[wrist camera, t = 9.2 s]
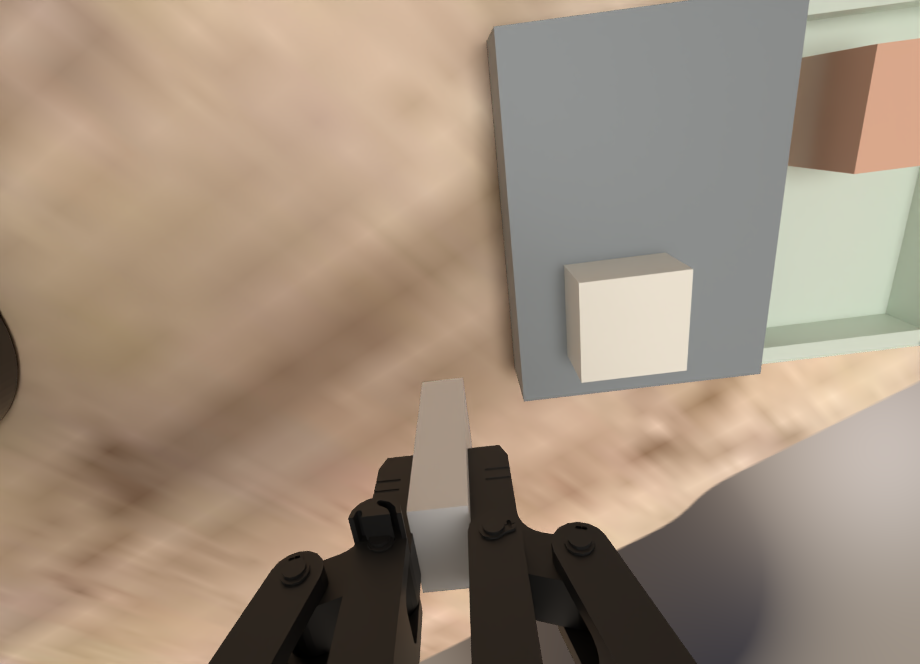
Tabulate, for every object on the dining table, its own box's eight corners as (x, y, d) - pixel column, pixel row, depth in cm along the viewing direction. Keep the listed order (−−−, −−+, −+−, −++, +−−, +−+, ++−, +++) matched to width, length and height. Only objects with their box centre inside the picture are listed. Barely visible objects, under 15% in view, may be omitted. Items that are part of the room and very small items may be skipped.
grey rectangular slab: (514, 368, 31) (524, 401, 27) (486, 41, 24) (493, 26, 20) (722, 343, 31) (760, 373, 27) (755, 5, 24) (811, -17, 20)
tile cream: (567, 355, 26) (581, 382, 24) (564, 264, 24) (578, 283, 22) (661, 344, 26) (686, 370, 24) (665, 252, 24) (693, 269, 22)
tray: (730, 342, 31) (758, 364, 28) (765, 3, 24) (807, -12, 21) (892, 323, 31) (936, 343, 28) (975, -25, 24) (1045, -44, 21)
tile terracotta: (854, 174, 22) (923, 165, 22) (877, 43, 20) (954, 33, 20) (782, 165, 26) (839, 157, 26) (796, 58, 24) (858, 50, 24)
